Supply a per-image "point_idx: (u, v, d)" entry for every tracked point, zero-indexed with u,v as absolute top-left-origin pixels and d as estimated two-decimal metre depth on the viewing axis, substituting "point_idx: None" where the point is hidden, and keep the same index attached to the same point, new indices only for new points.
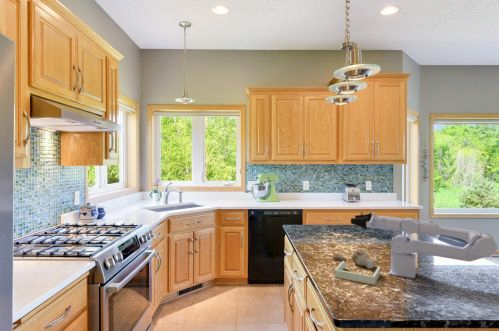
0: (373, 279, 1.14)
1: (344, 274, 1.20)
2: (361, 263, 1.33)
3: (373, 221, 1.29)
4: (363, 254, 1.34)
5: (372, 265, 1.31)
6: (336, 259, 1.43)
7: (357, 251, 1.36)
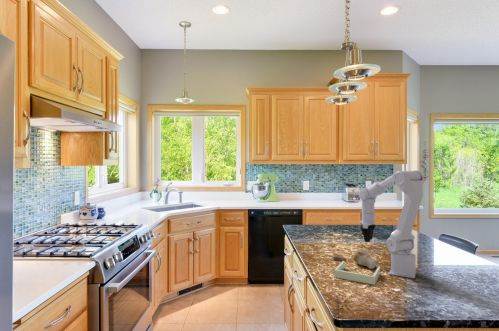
0: (373, 279, 1.14)
1: (344, 274, 1.20)
2: (362, 263, 1.33)
3: (365, 222, 1.42)
4: (365, 254, 1.34)
5: (373, 265, 1.30)
6: (336, 259, 1.43)
7: (359, 251, 1.36)
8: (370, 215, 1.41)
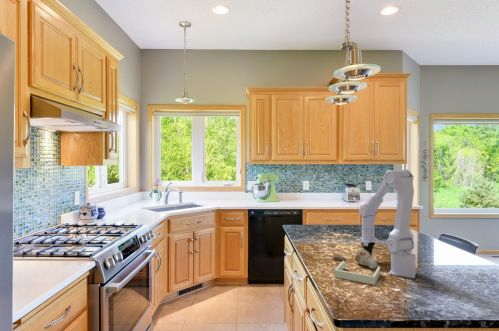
0: (373, 279, 1.14)
1: (344, 274, 1.20)
2: (364, 263, 1.33)
3: (365, 239, 1.41)
4: (366, 254, 1.34)
5: (374, 265, 1.30)
6: (336, 259, 1.43)
7: (360, 251, 1.36)
8: (370, 232, 1.41)
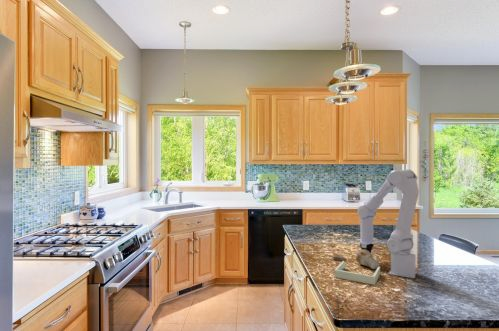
0: (373, 279, 1.14)
1: (344, 274, 1.20)
2: (365, 263, 1.33)
3: (364, 240, 1.39)
4: (367, 254, 1.34)
5: (375, 265, 1.30)
6: (336, 259, 1.43)
7: (361, 251, 1.36)
8: (369, 234, 1.38)
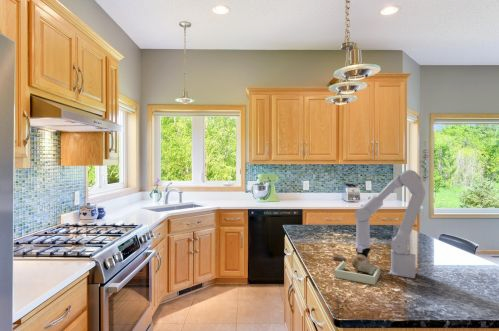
0: (373, 279, 1.14)
1: (344, 274, 1.20)
2: (362, 269, 1.25)
3: (360, 245, 1.31)
4: (364, 259, 1.26)
5: (374, 271, 1.23)
6: (336, 259, 1.43)
7: (358, 256, 1.28)
8: (365, 237, 1.31)
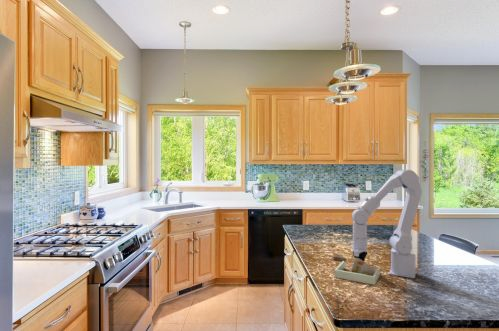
0: (373, 279, 1.14)
1: (344, 274, 1.20)
2: (364, 273, 1.21)
3: (356, 248, 1.26)
4: (363, 262, 1.22)
5: None
6: (336, 259, 1.43)
7: (357, 261, 1.22)
8: (362, 241, 1.25)
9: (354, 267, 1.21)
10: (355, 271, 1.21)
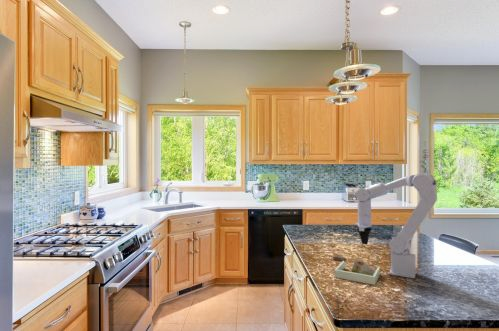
0: (373, 279, 1.14)
1: (344, 274, 1.20)
2: (364, 273, 1.21)
3: (361, 224, 1.34)
4: (364, 263, 1.23)
5: None
6: (336, 259, 1.43)
7: (357, 261, 1.23)
8: (367, 217, 1.33)
9: (354, 267, 1.22)
10: (355, 271, 1.21)
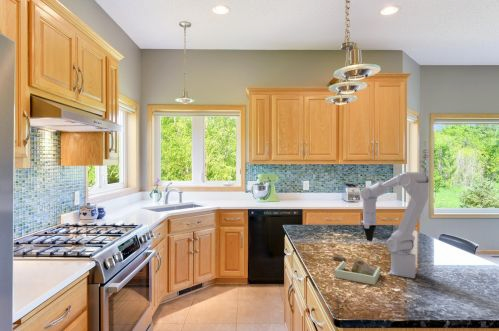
0: (373, 279, 1.14)
1: (344, 274, 1.20)
2: (364, 273, 1.22)
3: (366, 222, 1.39)
4: (364, 262, 1.23)
5: None
6: (336, 259, 1.43)
7: (357, 260, 1.23)
8: (371, 215, 1.39)
9: (354, 266, 1.22)
10: (355, 270, 1.22)
